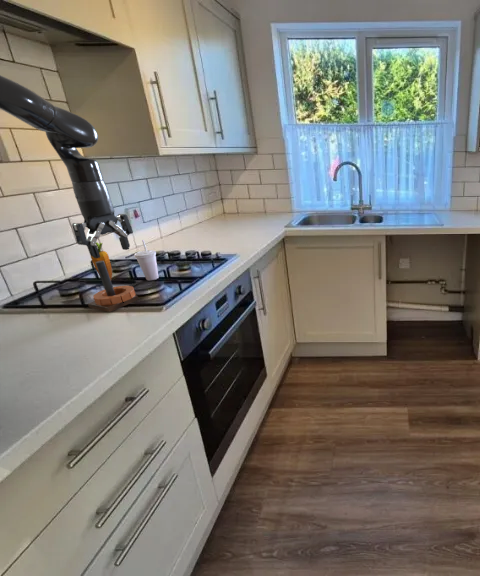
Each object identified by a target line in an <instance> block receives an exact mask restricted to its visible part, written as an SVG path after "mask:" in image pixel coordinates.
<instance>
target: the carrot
mask: <svg viewBox="0 0 480 576" xmlns="http://www.w3.org/2000/svg"><path fill="white" fill-rule="evenodd" d="M95 245H97V248H98V251H99V254H100V258H94V257H92V256H91V255H90V259H91V261H92V264H93V266H94V268H95V270H96V272H97V274H98V275H99V276H100V274H99V271H98V268H97V266H96V262H98V261H104V263H105V266H106V268H107V271H108V274H109V277H110V280H111V281H112V278H113V268H112V264H111V263H112V262H111V261H110V257H109V253H107V252H106V251H105V250H102V246H103V242H97V241H96V244H95Z"/></svg>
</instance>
